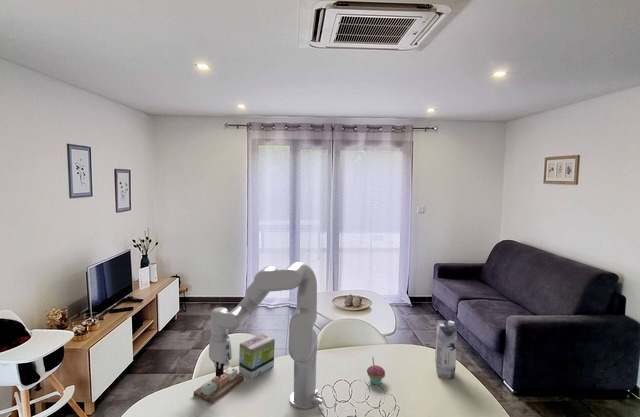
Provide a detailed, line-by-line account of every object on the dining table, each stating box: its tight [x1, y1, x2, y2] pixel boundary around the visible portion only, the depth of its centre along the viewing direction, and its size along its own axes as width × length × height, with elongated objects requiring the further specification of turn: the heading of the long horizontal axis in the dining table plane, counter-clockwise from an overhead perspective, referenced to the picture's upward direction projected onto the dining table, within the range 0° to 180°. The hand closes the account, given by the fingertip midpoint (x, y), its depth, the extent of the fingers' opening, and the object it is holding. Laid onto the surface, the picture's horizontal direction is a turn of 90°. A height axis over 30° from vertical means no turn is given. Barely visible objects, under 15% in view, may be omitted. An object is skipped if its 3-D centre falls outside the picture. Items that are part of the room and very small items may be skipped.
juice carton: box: [434, 319, 458, 380], centre depth 165 cm, size 9×10×27 cm
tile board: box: [193, 373, 245, 405], centre depth 151 cm, size 11×20×2 cm, turn 151°
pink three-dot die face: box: [211, 375, 228, 388], centre depth 151 cm, size 5×5×3 cm
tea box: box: [238, 333, 276, 380], centre depth 166 cm, size 15×10×15 cm
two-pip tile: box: [223, 366, 238, 381], centre depth 157 cm, size 5×5×3 cm
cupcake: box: [366, 355, 386, 385], centre depth 158 cm, size 9×8×12 cm
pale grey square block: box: [200, 380, 218, 396], centre depth 145 cm, size 5×5×3 cm
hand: (219, 374), depth 151 cm, fingers closed
